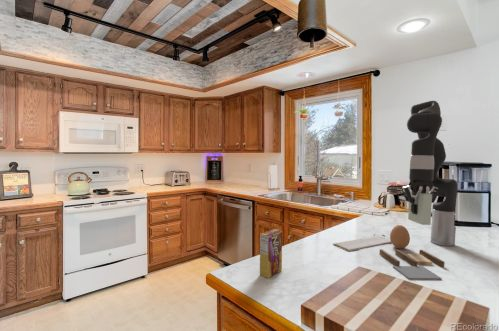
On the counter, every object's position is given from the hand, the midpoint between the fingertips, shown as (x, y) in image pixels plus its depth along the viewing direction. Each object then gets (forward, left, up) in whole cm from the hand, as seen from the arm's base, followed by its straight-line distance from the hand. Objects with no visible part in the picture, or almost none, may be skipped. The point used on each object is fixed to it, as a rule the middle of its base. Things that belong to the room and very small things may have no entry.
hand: (419, 213), depth 98 cm
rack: (-5, -12, -23) cm, 26 cm away
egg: (-10, -27, -23) cm, 37 cm away
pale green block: (0, 0, -3) cm, 3 cm away
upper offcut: (-9, -12, -23) cm, 27 cm away
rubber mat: (0, 0, -23) cm, 23 cm away
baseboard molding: (+5, -34, -24) cm, 42 cm away
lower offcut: (-9, -12, -24) cm, 28 cm away
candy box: (+55, 0, -23) cm, 60 cm away
